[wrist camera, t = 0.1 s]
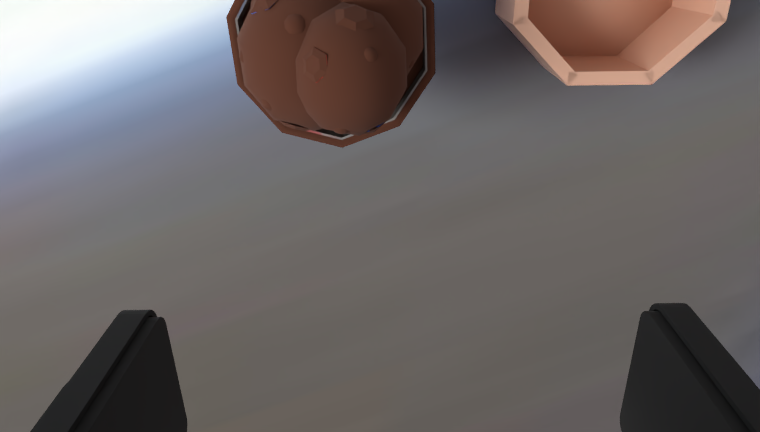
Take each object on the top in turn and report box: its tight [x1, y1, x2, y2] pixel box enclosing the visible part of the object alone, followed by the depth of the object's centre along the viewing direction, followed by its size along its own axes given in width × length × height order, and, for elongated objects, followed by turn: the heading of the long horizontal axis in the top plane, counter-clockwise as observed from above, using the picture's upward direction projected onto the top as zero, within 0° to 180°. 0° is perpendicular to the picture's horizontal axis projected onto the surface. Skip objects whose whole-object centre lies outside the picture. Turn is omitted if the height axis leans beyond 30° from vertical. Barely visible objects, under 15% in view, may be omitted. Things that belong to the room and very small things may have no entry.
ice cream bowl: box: [227, 0, 435, 147], centre depth 32 cm, size 11×11×15 cm
